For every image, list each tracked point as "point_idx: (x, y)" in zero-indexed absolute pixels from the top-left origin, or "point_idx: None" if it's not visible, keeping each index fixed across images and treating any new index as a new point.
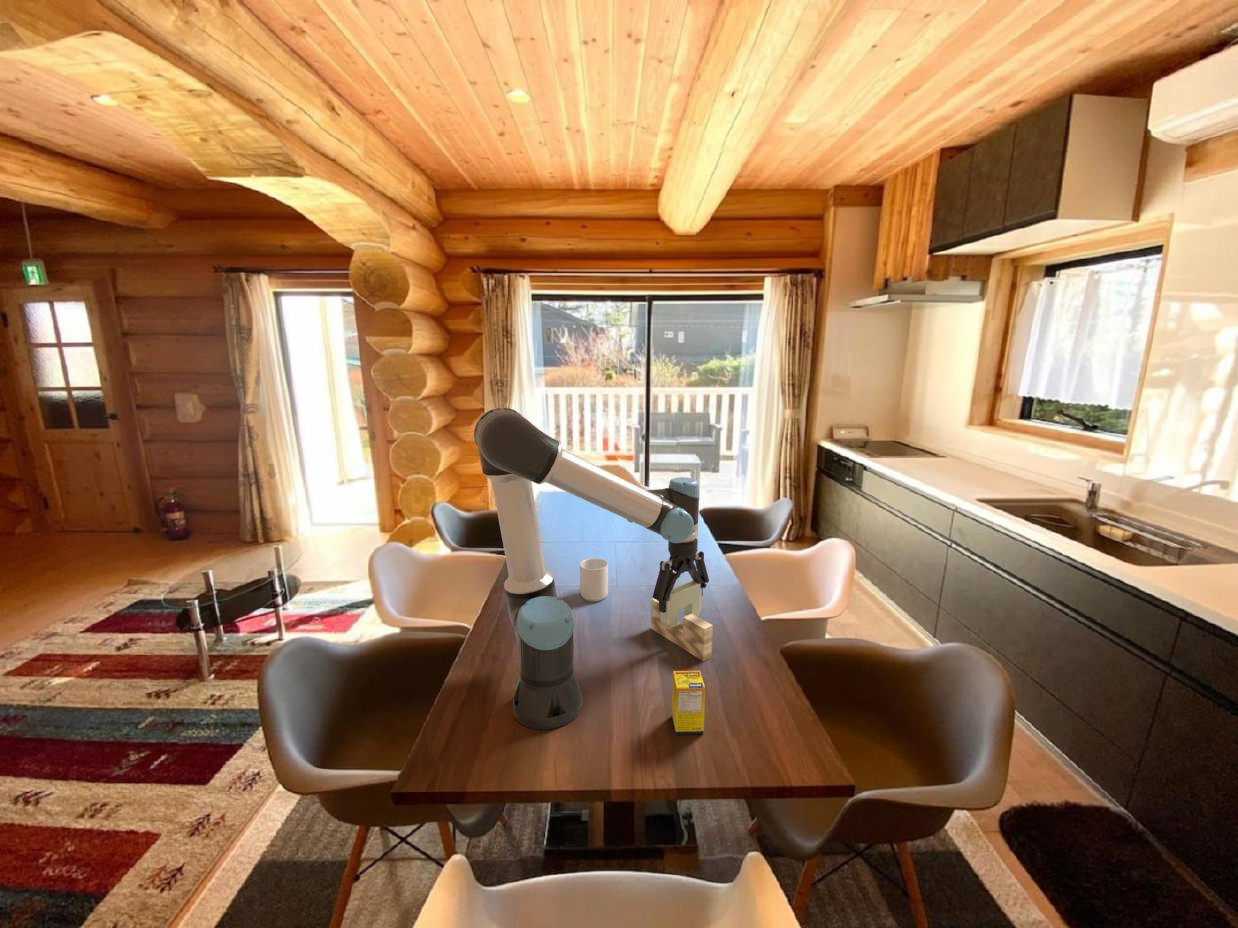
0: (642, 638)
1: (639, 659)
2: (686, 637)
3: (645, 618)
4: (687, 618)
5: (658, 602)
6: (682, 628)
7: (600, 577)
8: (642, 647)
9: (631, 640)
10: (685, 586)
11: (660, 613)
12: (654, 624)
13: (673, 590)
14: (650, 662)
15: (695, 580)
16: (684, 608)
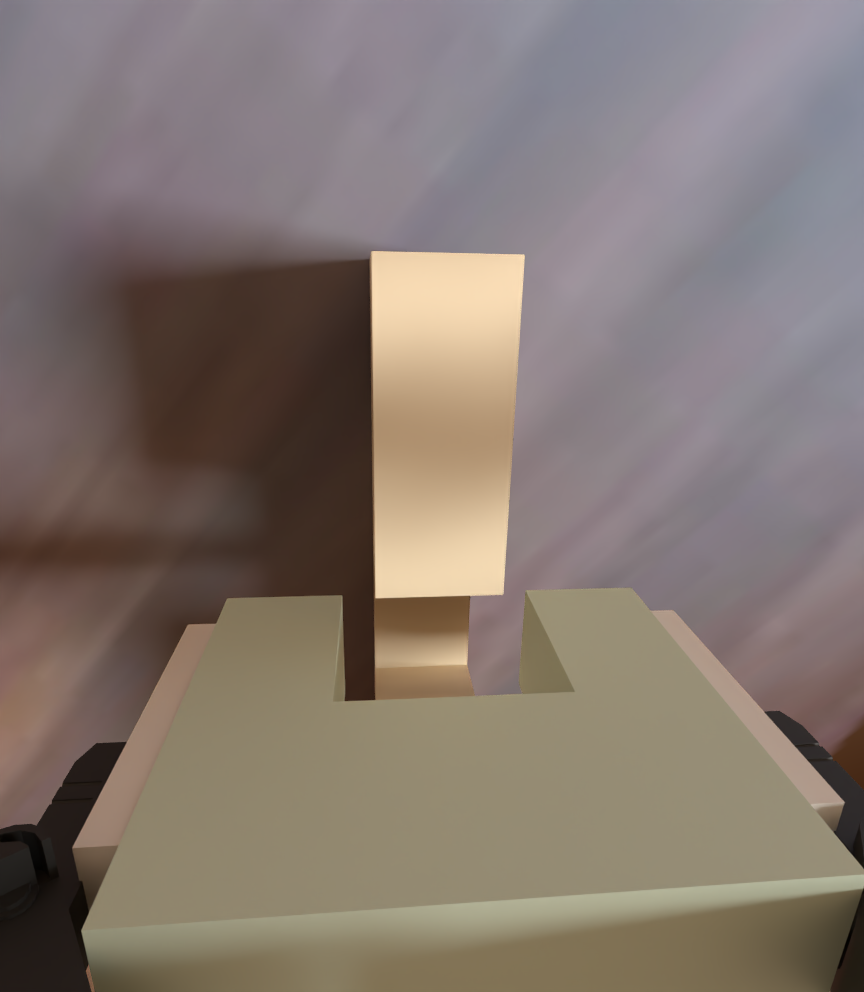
0: (210, 334)
1: (27, 535)
2: (375, 689)
3: (449, 73)
4: None
5: (386, 383)
6: (420, 623)
7: None
8: (134, 433)
9: (110, 299)
10: (579, 969)
11: (163, 674)
12: (370, 307)
13: (294, 982)
14: (80, 601)
15: (851, 981)
16: (541, 629)
